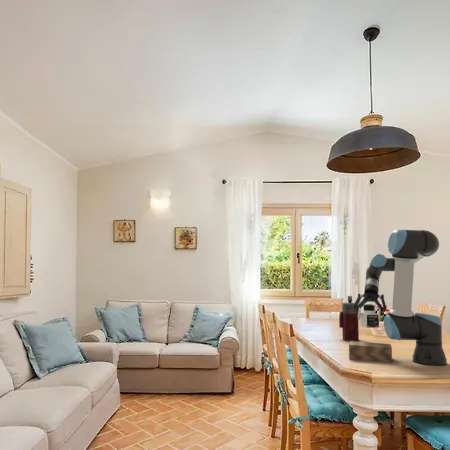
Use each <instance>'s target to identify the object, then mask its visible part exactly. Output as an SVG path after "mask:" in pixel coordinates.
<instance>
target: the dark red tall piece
mask: <svg viewBox="0 0 450 450" xmlns="http://www.w3.org/2000/svg"><path fill="white" fill-rule="evenodd" d="M354 304H355V302H353V296H352V295H348V296H347V302H342V303H341V310H342V311H340V312H339V316H338V321H339V324H338V325H339V328H340V329H341V330H342V339H343V341H349V342H350V341H354V342H360V341H359V339H360V338H359V337H360V336H359V334H360V331H359V330H360V329H359V320H358V314H357V313H356V310H357V309H354Z"/></svg>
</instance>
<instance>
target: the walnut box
mask: <svg viewBox="0 0 450 450" xmlns="http://www.w3.org/2000/svg"><path fill="white" fill-rule="evenodd" d="M392 349H393V347H392V345H391V343H384V342H383V343H382V342H367V341H365V342H364V341H349V344H348V359H349V360H354V359H355V360H354V361H356V360H357V361H367V362H370V361H371V362H382V363H393V350H392Z"/></svg>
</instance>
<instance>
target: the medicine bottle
mask: <svg viewBox="0 0 450 450" xmlns="http://www.w3.org/2000/svg"><path fill="white" fill-rule="evenodd" d="M362 309H363V312H361V313H360V320H359V321H360V323H359V324H360V327H362V328H367V329H369V328H370V329H376V328H377V329H379V328H380V321H379V320H378V315H379V313H376V304H371V303H365V304H364V305H363V307H362Z"/></svg>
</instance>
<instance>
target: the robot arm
mask: <svg viewBox="0 0 450 450" xmlns="http://www.w3.org/2000/svg"><path fill="white" fill-rule="evenodd" d="M439 247H440V241H439V238H438V237H437V236H436V234H434V233H433V232H431V231H429V230H425V229H423V230H422V229H397V230H396V229H395V230H393V231H392V232H391V234H390V235H389V238H388V241H387V248H388V252H389V253H390V254H391V256H392V257H386V256H385V255H384V254H381V253H375V254H374V255H373V257H372V258H371V260H370V264H369V266H368V267H367V268H366V272H365V282H364V292H363V294H360V293H358V294H357V298H356V300H355V302H354V303H355V304H354V309H357V310H356V313H357V314H358V321H360V313H362V312H361V311H362V310H361V309H363V305H365V304H368V302H369V303H370V302H372V303H374V305H375V306H377V308H378V314H379V315H378V320H379V322H381V317H382V316H383V315H384V313H383V312H387V304H386V301H385V294H383V293H382V294H381V295H379V291H380V289H379V287H380V279H381V275H382V273H383V272H394V274H393V294H392V295H393V296H392V308H390V309H389V310H388V314H387V315H385V316H384V318H383V329H384V331H385V334H386V336H387V337H388V338H389V339H390V340H394V341H415V347H414V350H413V355H412V361H413V362H414V363H416V364H420V365H428V366H445V365H447V364H448V361H447V360H448V359H447V357H446V354H445V351H444V348H443V333H442V331H443V330H442V328H443V327H442V326H443V324H442V319H441V317H440V316H438V315H434V314H428V313H421V312H420V313H419V312H415V313H414V312H413V310H412V305H413V303H412V302H413V288H414V287H413V286H414V274H415V273H414V272H415V271H414V270H415V264H416V263H418V262H419V261H420V260H422V259H424V258H427V257H431V256H433V255H435V253H436V252H437V251H438V250H439ZM362 298H363V299H362ZM378 299H379V300H381V303H382V304H381V303H380V302H379V300H378Z"/></svg>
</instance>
